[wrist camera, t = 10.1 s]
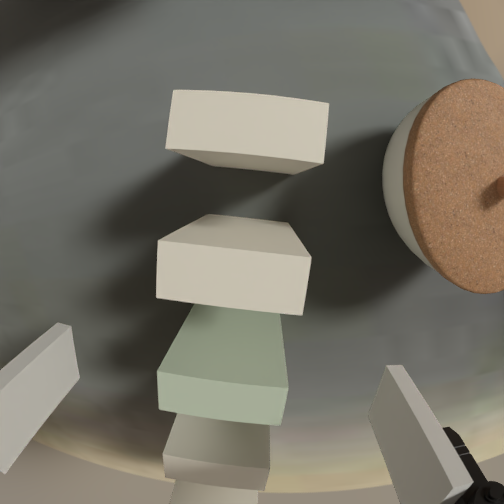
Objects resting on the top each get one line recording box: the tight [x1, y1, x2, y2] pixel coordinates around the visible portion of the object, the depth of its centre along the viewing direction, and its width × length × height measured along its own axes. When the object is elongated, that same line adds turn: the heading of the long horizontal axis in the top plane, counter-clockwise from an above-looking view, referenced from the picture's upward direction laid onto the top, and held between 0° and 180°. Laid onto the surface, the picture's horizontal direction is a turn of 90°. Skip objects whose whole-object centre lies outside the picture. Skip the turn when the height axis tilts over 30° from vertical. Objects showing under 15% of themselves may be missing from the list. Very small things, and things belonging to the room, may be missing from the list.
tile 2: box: [156, 214, 312, 315], centre depth 15 cm, size 2×5×10 cm, turn 84°
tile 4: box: [163, 413, 270, 491], centre depth 17 cm, size 2×5×10 cm, turn 84°
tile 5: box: [169, 480, 258, 504], centre depth 18 cm, size 2×5×10 cm, turn 84°
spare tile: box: [157, 303, 289, 426], centre depth 16 cm, size 2×5×10 cm, turn 84°
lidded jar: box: [382, 79, 504, 294], centre depth 15 cm, size 11×11×9 cm
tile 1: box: [166, 90, 329, 175], centre depth 14 cm, size 2×5×10 cm, turn 84°
